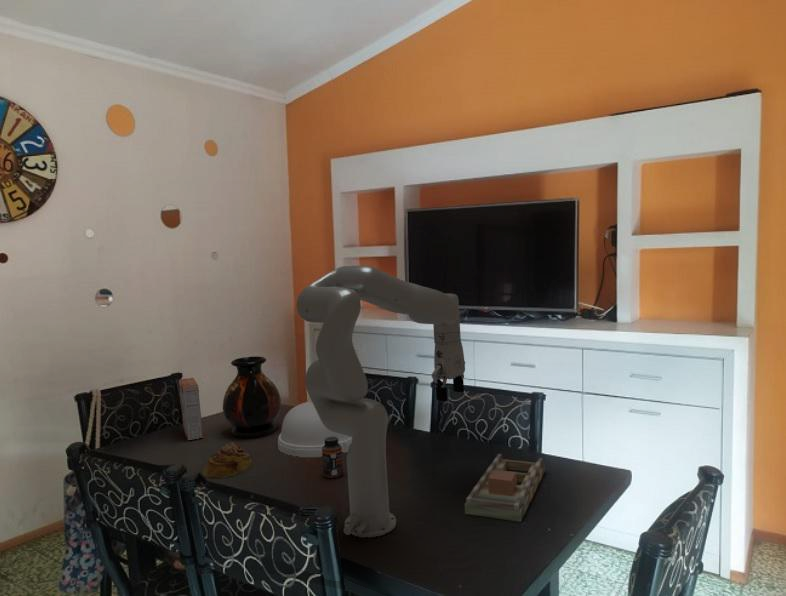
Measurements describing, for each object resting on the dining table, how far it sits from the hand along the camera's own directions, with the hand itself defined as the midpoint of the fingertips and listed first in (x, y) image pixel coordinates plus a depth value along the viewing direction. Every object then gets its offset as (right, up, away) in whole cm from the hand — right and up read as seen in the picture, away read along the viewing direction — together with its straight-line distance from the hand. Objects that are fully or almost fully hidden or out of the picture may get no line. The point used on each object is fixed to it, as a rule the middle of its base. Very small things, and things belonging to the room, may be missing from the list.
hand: (450, 396), depth 169 cm
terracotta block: (+12, -22, -15) cm, 29 cm away
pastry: (-69, -27, +18) cm, 76 cm away
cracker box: (-92, -24, +55) cm, 110 cm away
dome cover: (-42, -23, +39) cm, 62 cm away
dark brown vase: (-69, -23, +55) cm, 91 cm away
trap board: (+14, -24, -10) cm, 30 cm away
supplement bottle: (-34, -25, +8) cm, 44 cm away
